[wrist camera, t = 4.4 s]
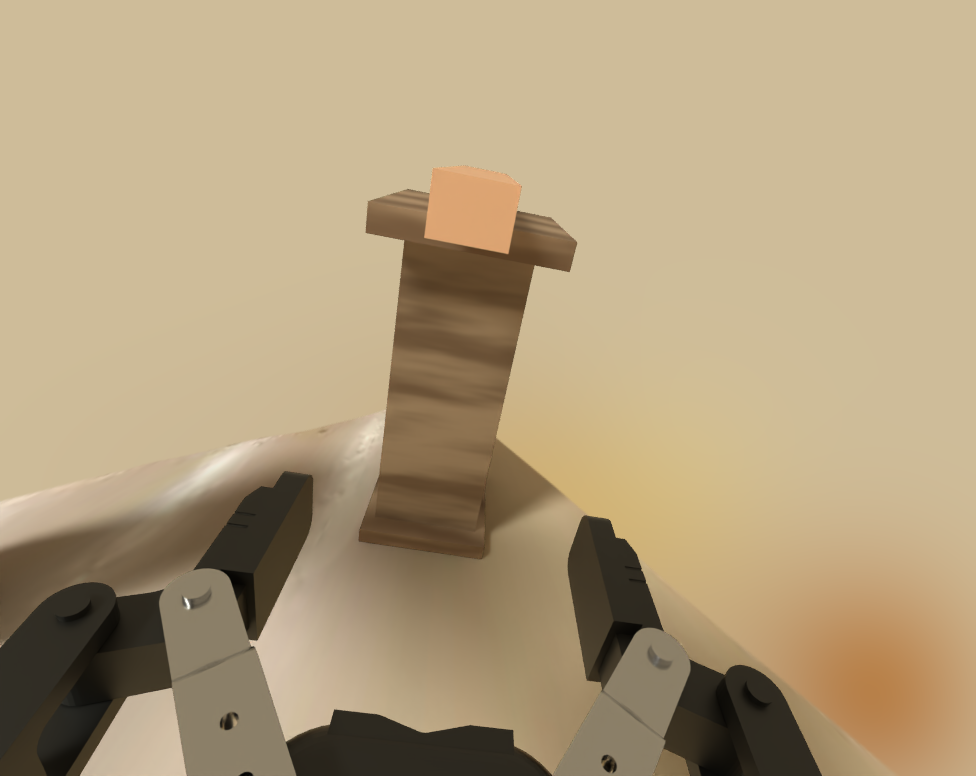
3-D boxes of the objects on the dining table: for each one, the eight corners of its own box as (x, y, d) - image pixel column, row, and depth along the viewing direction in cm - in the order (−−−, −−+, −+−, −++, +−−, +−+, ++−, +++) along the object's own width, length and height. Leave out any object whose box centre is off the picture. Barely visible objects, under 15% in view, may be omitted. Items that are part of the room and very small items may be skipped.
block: (508, 254, 22) (521, 186, 21) (424, 237, 22) (432, 168, 21) (500, 207, 46) (506, 174, 45) (459, 199, 46) (464, 165, 44)
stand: (491, 576, 45) (577, 242, 32) (342, 555, 44) (367, 201, 31) (491, 475, 59) (550, 217, 46) (379, 458, 58) (407, 189, 45)
